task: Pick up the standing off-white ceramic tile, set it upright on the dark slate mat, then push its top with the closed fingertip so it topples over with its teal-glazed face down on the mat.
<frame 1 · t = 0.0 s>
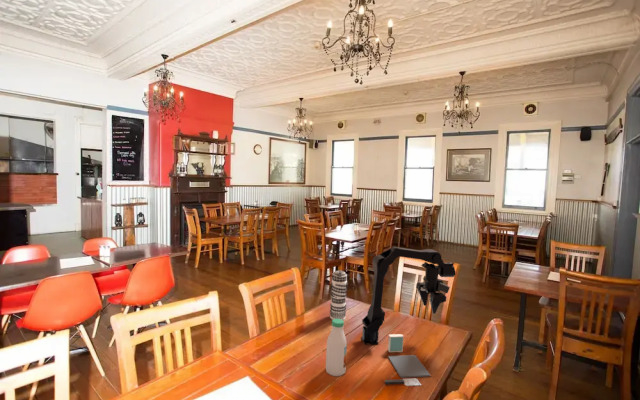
hand: (429, 309, 153), 15 cm above the table, fingers open, 9 cm apart
tile: (395, 350, 143), on the table
turner: (403, 382, 121), on the table
milk bottle: (335, 371, 126), on the table
decorative candle: (337, 317, 175), on the table
mat: (408, 366, 131), on the table
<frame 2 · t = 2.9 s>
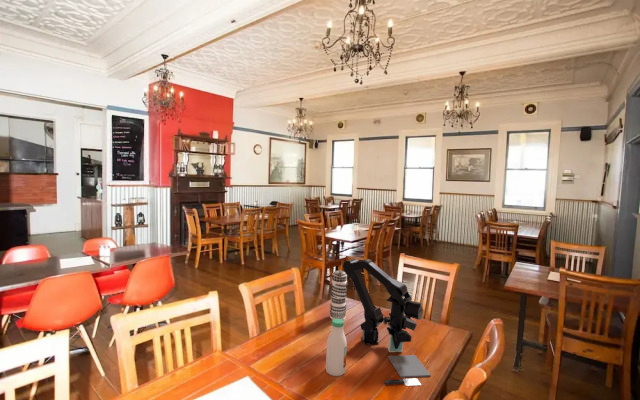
hand: (395, 347, 143), 2 cm above the table, fingers closed on tile, 2 cm apart
tile: (395, 350, 143), on the table, touching gripper
everything else where it was.
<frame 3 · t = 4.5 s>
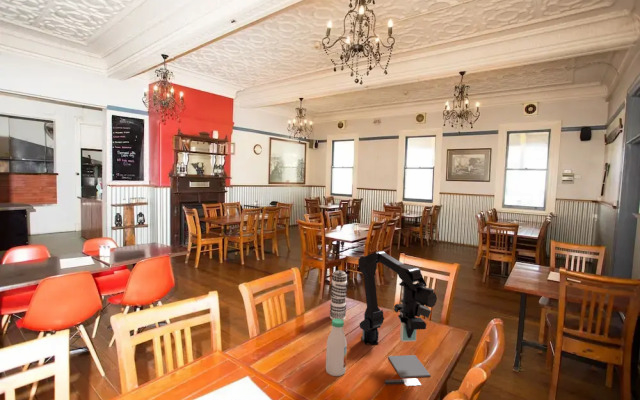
hand: (408, 336, 133), 11 cm above the table, fingers closed on tile, 2 cm apart
tile: (407, 340, 133), point 10 cm above the table, touching gripper
everything else where it was.
when the fingers open (3 cm above the table, at t = 6.2 s): tile stays where it is, resting on mat.
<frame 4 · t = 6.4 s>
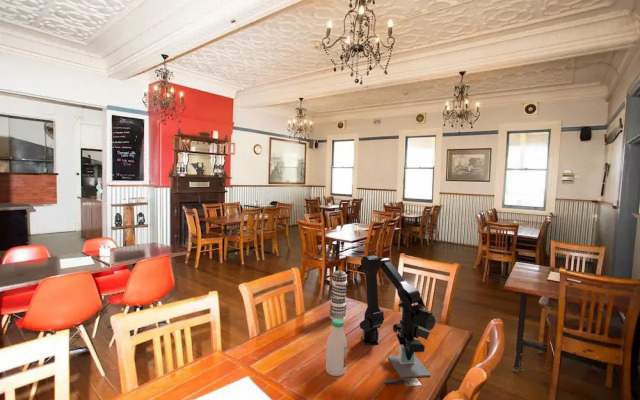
hand: (406, 357, 133), 3 cm above the table, fingers open, 4 cm apart
tile: (406, 362, 133), point 1 cm above the table, touching mat
everything else where it was.
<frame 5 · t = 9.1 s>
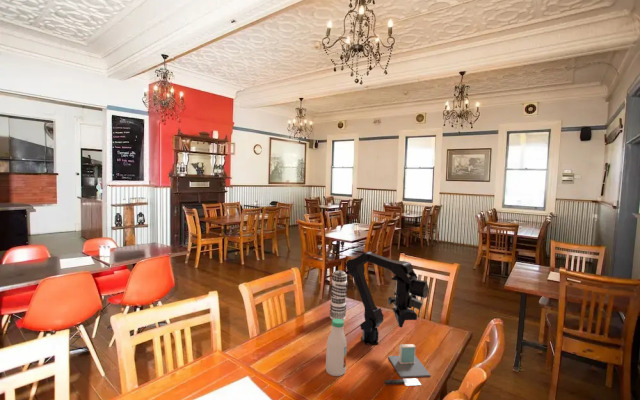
hand: (400, 327, 140), 12 cm above the table, fingers closed
nothing on the table moved.
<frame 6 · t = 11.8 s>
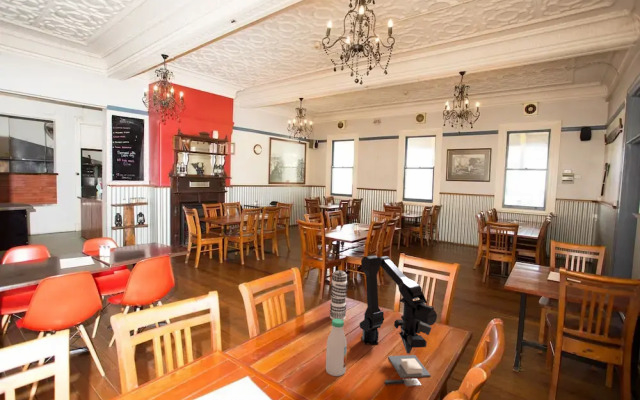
hand: (408, 353, 132), 5 cm above the table, fingers closed
tile: (407, 361, 132), point 2 cm above the table, tilted 90°, touching mat
everything else where it was.
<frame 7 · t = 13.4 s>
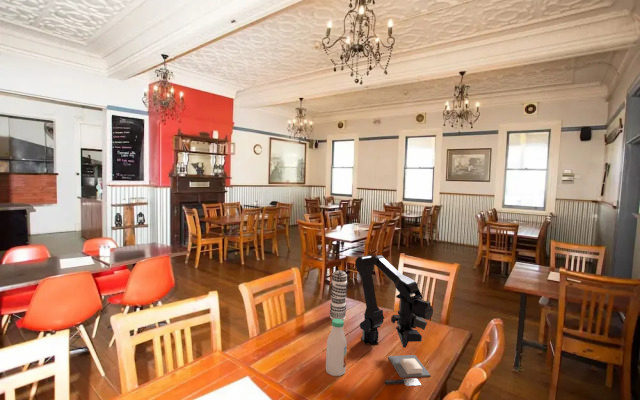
hand: (404, 347, 136), 5 cm above the table, fingers closed
nothing on the table moved.
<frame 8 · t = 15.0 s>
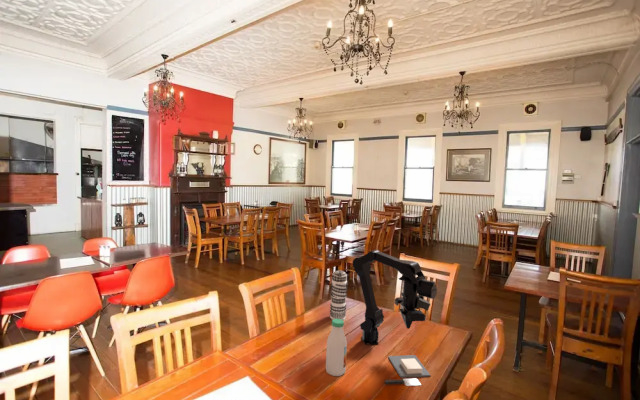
hand: (407, 328, 138), 12 cm above the table, fingers closed
nothing on the table moved.
at the end: tile tilted 90°; tile inside the target area on the mat (1.0 cm from its centre), point 1.7 cm above the mat's base; the gripper is holding nothing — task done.
